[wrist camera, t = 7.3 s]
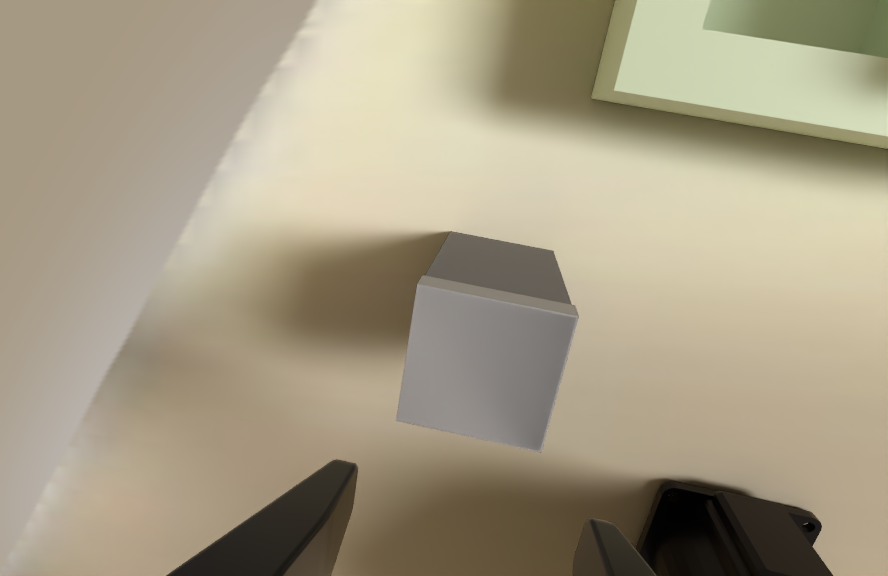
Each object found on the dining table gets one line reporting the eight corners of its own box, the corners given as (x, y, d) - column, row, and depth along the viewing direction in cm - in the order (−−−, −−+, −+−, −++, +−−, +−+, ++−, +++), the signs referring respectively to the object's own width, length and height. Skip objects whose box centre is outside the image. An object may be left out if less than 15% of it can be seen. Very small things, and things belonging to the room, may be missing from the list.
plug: (531, 346, 20) (541, 452, 14) (433, 325, 20) (396, 420, 14) (554, 249, 19) (578, 316, 12) (449, 229, 19) (417, 284, 12)
